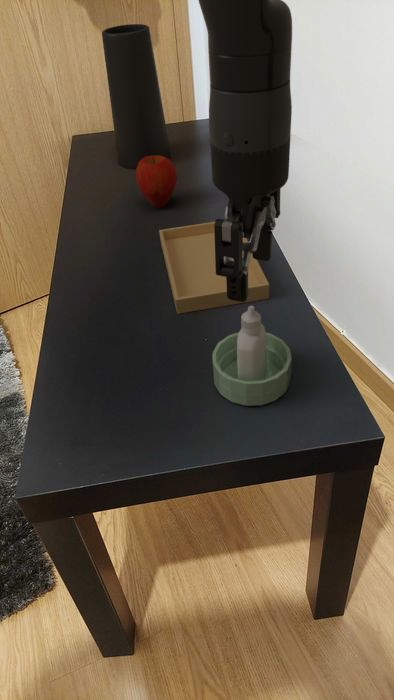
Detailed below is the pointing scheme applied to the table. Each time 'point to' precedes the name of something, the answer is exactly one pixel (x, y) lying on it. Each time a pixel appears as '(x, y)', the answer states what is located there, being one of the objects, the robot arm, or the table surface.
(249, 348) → the eye dropper bottle
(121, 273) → the table surface
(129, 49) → the vase
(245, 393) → the bowl
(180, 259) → the tray
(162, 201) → the apple
